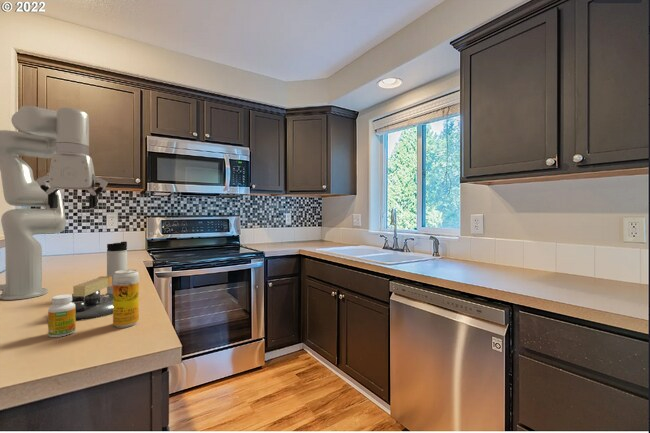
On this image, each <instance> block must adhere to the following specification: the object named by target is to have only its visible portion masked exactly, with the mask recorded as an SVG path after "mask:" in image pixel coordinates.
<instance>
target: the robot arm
mask: <svg viewBox="0 0 650 433" xmlns="http://www.w3.org/2000/svg"><path fill="white" fill-rule="evenodd" d="M89 116H90V115H89V114H88V113H87V112H86V111H84V110H81V109H79V108H73V107H60V108H58V109H57V110H53V109H48V108H43V107H40V106H34V105H22V106H21V107H20V108H19V109H18V110H17V111H16V112H15V113H14V114H13V115H12V116H11V118H10V119H11V124H12V126H13V127H14V128H15V130H7V129H6V130H5V129H2V130H1V129H0V176H1V184H2V185H1V186H2V192H3V196H4V201H5V202H6V203H7V204H8V205H10V206H13V207H37V208H14V209H13V208H12V209H8V210H7V211H5V212H4V213H2V216H1V219H0V222H1V227H2V232H3V235H4V236H3V237H4V247H5V248H4V249H5V252H4V253H5V259H4V260H5V284H0V291H1V294H0V300H4V301H14V300H15V301H16V300H24V299H29V298H31V299H32V298H35V297H39V296H44V295H46V294H47V293H48V291H49V290H48V288H46V287H43V247H42V245H41V242H39V241H38V240H37V239H36V238H35V237H34V236H35V235H47V234H49V235H51V234H59V233H61V232H64V230H65V229H66V225H67V219H66V212H65V211H66V210H65V204H64V200H63V195H62V194H63V193H62V191H61V190H64V189H66V190H86V191H87V192H88V193H90V195H89V196H88V208H89V209H90V210H92V209H95V210H96V207H97V206H98V196H99V195H100V194H101V193H103V192H104V190H105V189H106V187H107V185H108V181H107V180H105V179H102V178H100V177H98V176H96V175H95V167H94V163H93V159H92V157H91V156H90V120H89V119H90V117H89ZM19 156H24V157H32V158H41V159H51V161H50V166H49V174H46V175H44V176H40V177H39V178H37V179H36V180H35V179H34V178H35V177H34V171H33V169H32V168H31V166H30V165H29V164H28V163H27V162H26V161H25V160H23V159H22V158H21V157H19ZM96 182H97V183H98V184H99V186H98V187H97V188H95V187H96ZM38 207H40V208H38Z"/></svg>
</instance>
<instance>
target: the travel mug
mask: <svg viewBox="0 0 650 433" xmlns="http://www.w3.org/2000/svg"><path fill="white" fill-rule="evenodd" d="M106 248H107V250H106V276H112V286H110V287H106V295H109V296H113V276H114V274H115V272H116V271H120V270H128V242H127V241H121V242H114V243H107V244H106Z"/></svg>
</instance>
